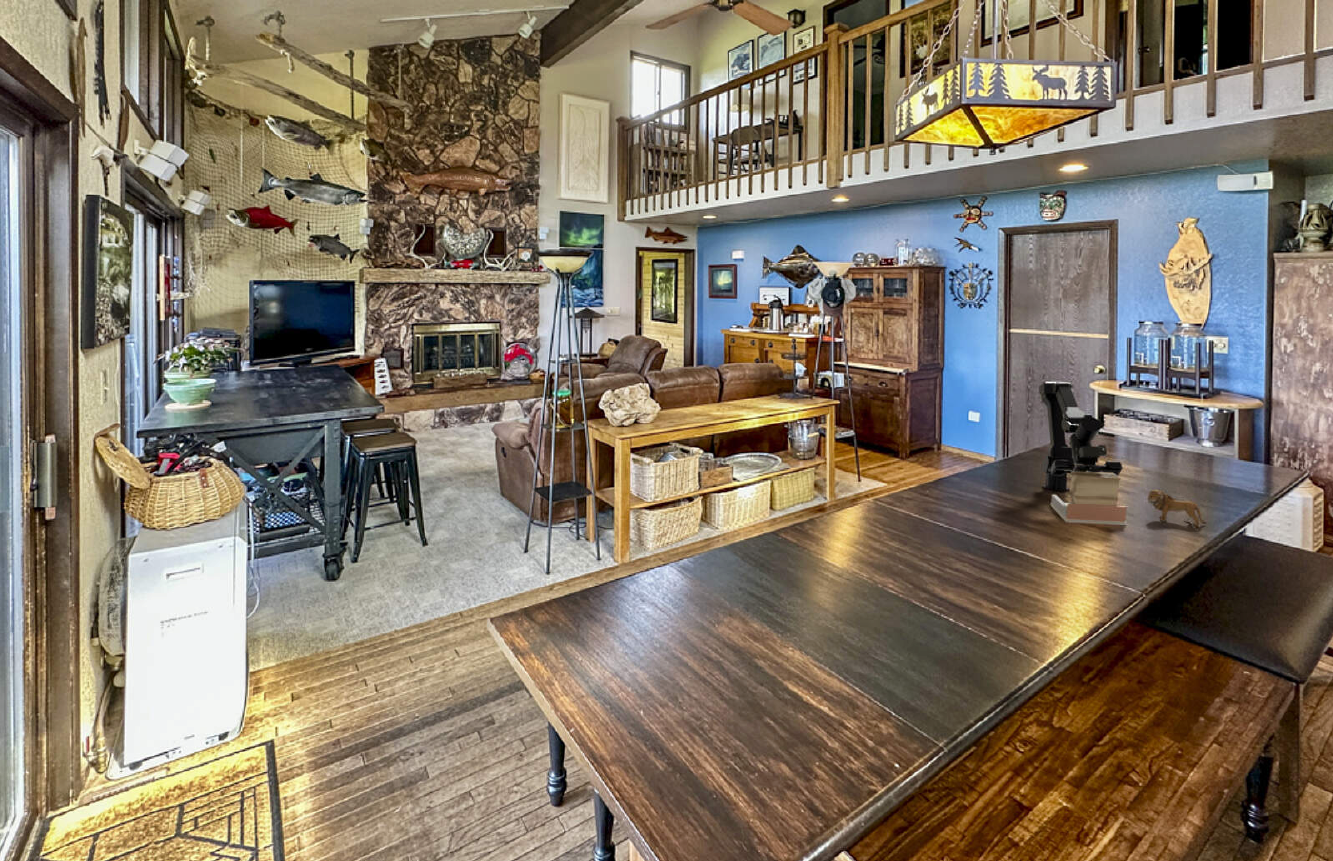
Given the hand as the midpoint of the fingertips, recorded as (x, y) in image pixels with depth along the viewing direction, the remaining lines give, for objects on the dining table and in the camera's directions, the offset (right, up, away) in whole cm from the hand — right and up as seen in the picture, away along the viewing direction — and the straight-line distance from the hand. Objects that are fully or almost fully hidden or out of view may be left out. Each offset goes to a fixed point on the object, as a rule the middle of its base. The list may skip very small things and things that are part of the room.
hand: (1090, 491), depth 213 cm
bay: (+1, -7, +3) cm, 8 cm away
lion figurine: (+21, -9, -6) cm, 24 cm away
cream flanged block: (-1, -7, -2) cm, 7 cm away
